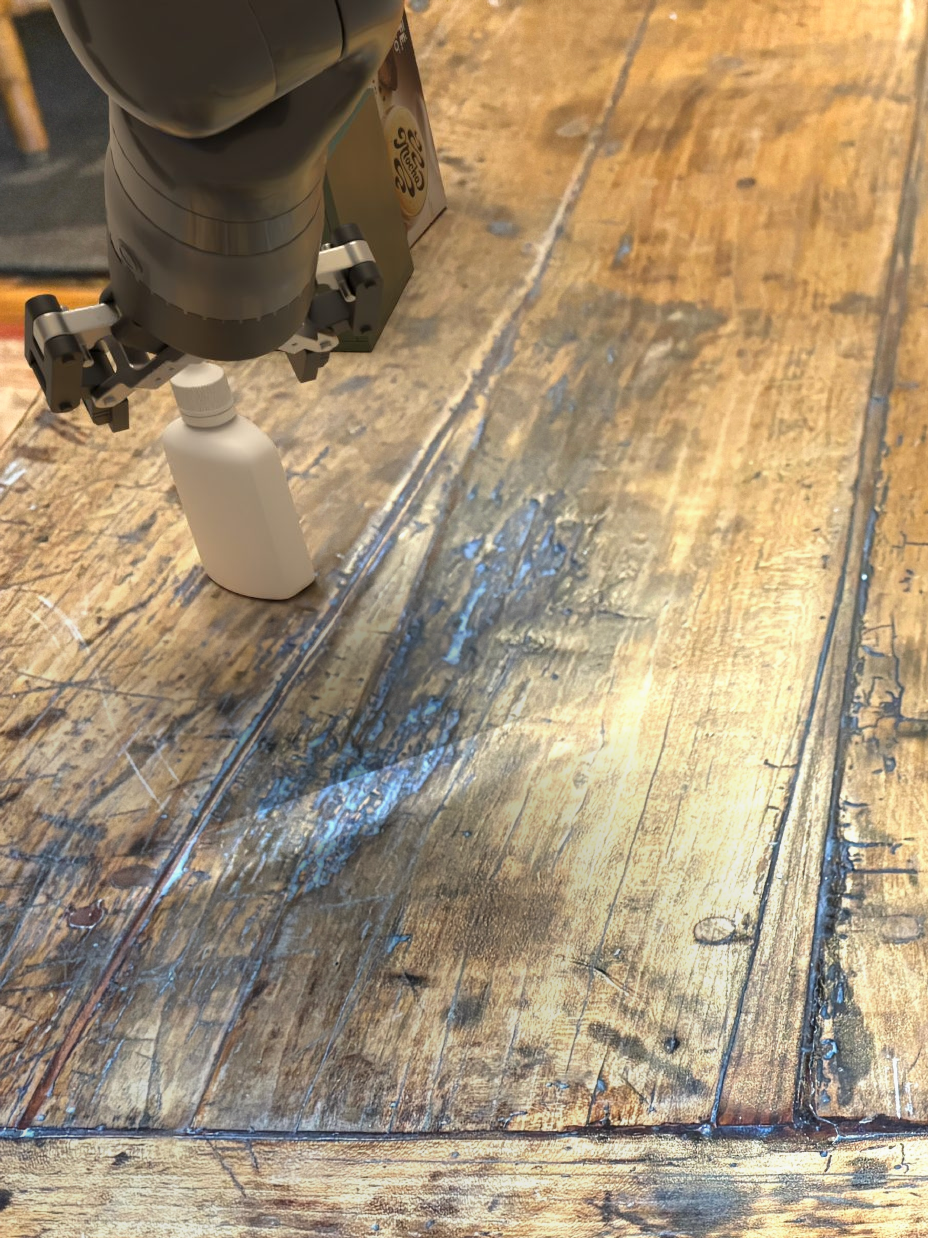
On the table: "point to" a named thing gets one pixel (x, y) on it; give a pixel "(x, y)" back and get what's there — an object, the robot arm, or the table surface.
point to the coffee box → (408, 135)
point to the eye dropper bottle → (234, 491)
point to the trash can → (366, 207)
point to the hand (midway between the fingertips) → (205, 386)
